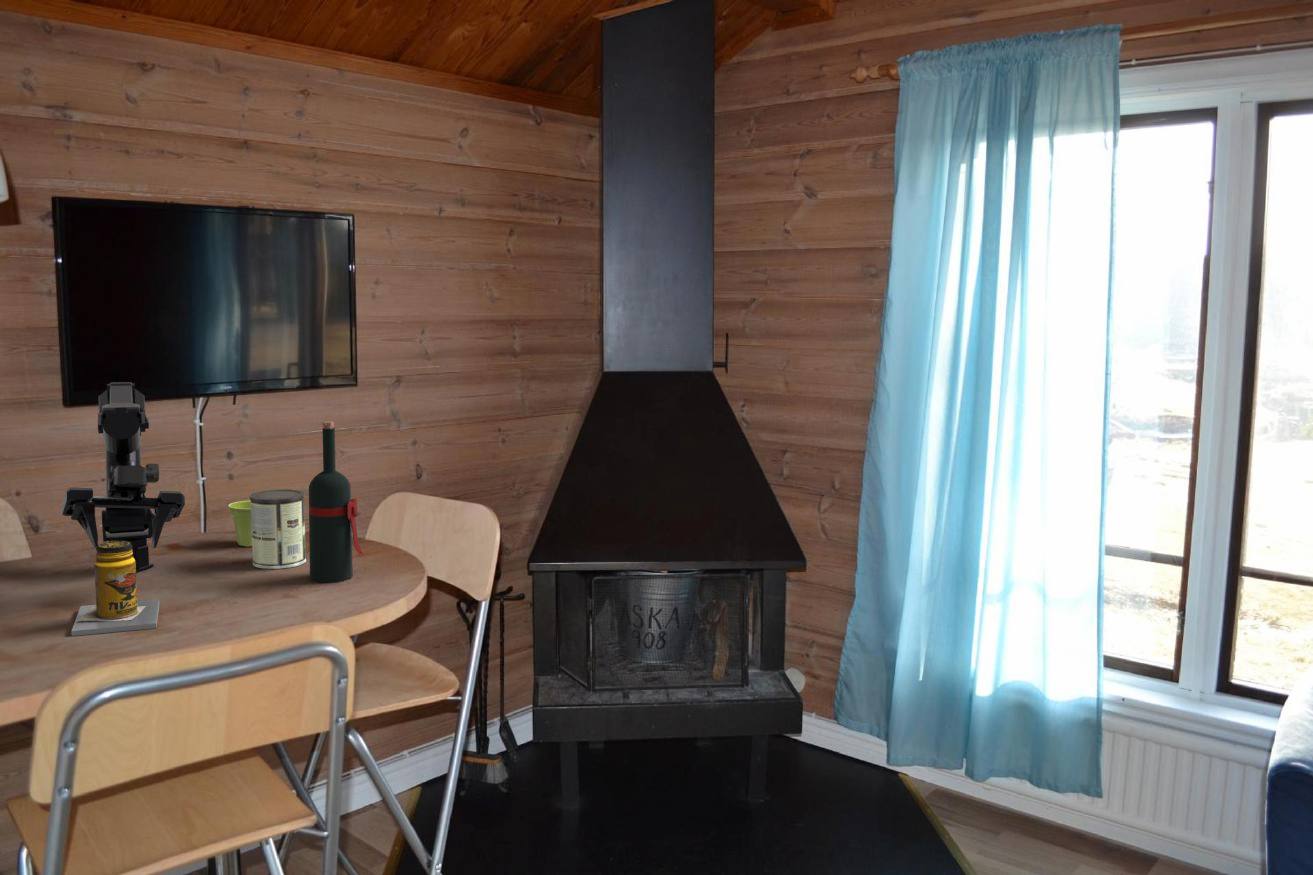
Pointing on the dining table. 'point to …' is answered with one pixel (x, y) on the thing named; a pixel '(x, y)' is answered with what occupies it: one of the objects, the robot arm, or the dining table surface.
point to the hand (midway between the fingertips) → (125, 546)
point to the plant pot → (242, 522)
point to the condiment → (114, 583)
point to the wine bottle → (331, 518)
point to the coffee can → (278, 528)
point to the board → (141, 621)
